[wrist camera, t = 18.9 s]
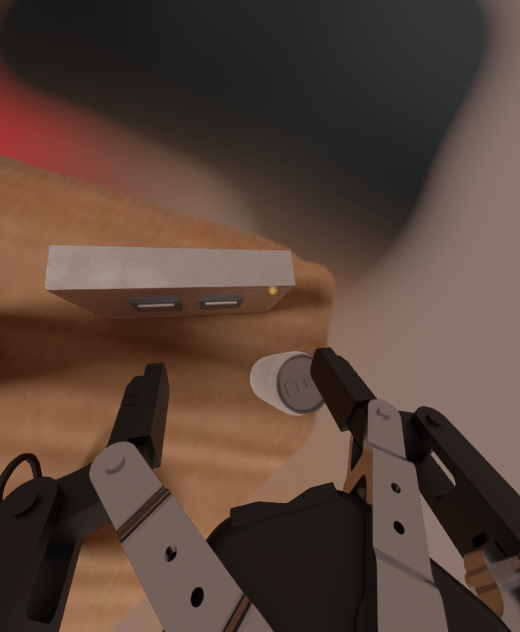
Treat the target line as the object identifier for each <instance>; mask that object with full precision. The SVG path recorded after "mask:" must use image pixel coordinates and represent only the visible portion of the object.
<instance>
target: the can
mask: <svg viewBox="0 0 520 632" xmlns="http://www.w3.org/2000/svg"><path fill="white" fill-rule="evenodd" d="M312 360H313V356H311V355H309V354H307V353H305V352H300V351H290V352H284V353H279V354H274V355H269V356H265V357H263V358H261V359H259V360H258V361H257V362H256V363H255V364H254V366H253V367H252V369H251V372H250V384H251V388H252V390H253V391H254V393H255V394H256V395H257V396H258V397H259V398H261V399H262V400H264V401H265V402H267V403H269V404H270V405H272V406H274V407H276V408H277V409H279V410H281V411H283V412H285V413H287V414H290V415H295V416H301V415H307V414H311V413H314V412H316V411H318V410H319V409H320V408H321V407H322V406H323V405H324V404H325V402H324V400H323V398H322V396H321V394H320V393H319V391H318V389H317V387H316V385H315V383H314V382H313V380H312V378H311V374H310V367H311V363H312Z"/></svg>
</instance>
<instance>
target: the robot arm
mask: <svg viewBox="0 0 520 632" xmlns="http://www.w3.org/2000/svg"><path fill="white" fill-rule="evenodd" d="M310 374H311V378H312V380H313V382H314V383H315V385H316V387H317V389H318V391H319V393H320V394H321V396H322V398H323V400H324V402H325V403H326V405H327V407H328V409H329V411H330V412H331V414H332V416H333V418H334V419H335V422H336V423H337V425H338V427H339V429H340V431H341V432H343V431H348V430H350V432H351V434H352V435H351V437H350V447H349V458H348V469H347V477H346V480H345V484H344V487H343V491H339V490H336V488H335V486H334V484H333V482H331V483H327V484H323V485H320V486H315V487H311V488H309V489H307V490H306V491H305V492H303V493H302V494H300V495H299V496H297V497H296V498H295V499H293V500H291V501H290V502H288V503H273V502H254V503H250V504H246V505H242V506H238V507H235V508H231V509H230V517H229V518H227V519H225V520H224V521H223V522H222V523H220V524H219V525H218V526H217V527H216V528H215V529H214V530H213V531H212V533H211V534H210V535H209V537H208V538H207V539H206V540H205V539H204V538H203V536H202V535H201V533H200V532H199V531H198V529H197V528H196V527H195V525H194V524H193V522H192V521H191V520H190V518H189V517H188V515H187V514H186V513H185V511H184V510H183V508H182V507H181V506H180V504H179V503H178V501H177V500H176V499H175V497H174V496H173V495H172V493H171V492H170V491H169V490H168V489H166V488H165V487H164V486H163V485H162V484H161V482H160V481H159V479H158V478H157V477H156V475H155V474H154V472H153V471H152V469H153V468H158V467H160V465H161V457H162V449H163V441H164V433H165V425H166V417H167V409H168V401H169V382H168V377H167V372H166V366H165V363H164V362H163V363H153V364H147V366H146V369H145V373H144V376H136V377H134V378H133V379H132V381H131V382H130V383H129V384H128V385H127V387H126V390H125V393H124V396H123V397H124V398H123V399H122V402H121V407H120V409H119V412H118V415H117V418H116V421H115V424H114V427H113V430H112V433H111V436H110V439H109V442H108V444H107V446H106V448H105V449H104V450H103V451H102V452H101V453H100V454H99V455H98V456H97V457H96V458H95V460H94V461H93V462H92V463H90V464H89V465H87V466H85V467H84V468H82V469H80V470H77V471H75V472H73V473H71V474H69V475H67V476H65V477H62V478H60V479H58V480H56V481H55V480H54V479H53V478H51V477H38V478H35V479H32V480H30V481H27V482H26V483H24V484H22V485H21V486H19V487H17V488H16V489H15V490H14V491H12V492H11V493H10V494H9V495H8V496H7V497H6V498H5V499H4V500H3V501H2V502H1V504H0V632H59V629H60V625H61V621H62V618H63V614H64V610H65V606H66V602H67V598H68V595H69V591H70V587H71V583H72V579H73V575H74V572H75V568H76V564H77V560H78V556H79V552H80V549H81V545H82V541H83V538H84V537H85V536H87V535H89V534H90V533H92V532H94V531H96V530H97V529H99V528H101V527H102V526H104V525H106V524H107V523H109V522H111V521H112V523H113V525H114V527H115V529H116V531H117V534H118V538H119V540H120V543H121V545H122V547H123V549H124V551H125V553H126V555H127V557H128V559H129V561H130V563H131V565H132V567H133V569H134V571H135V573H136V575H137V577H138V579H139V581H140V583H141V585H142V587H143V589H144V591H145V593H146V595H147V597H148V599H149V601H150V603H151V605H152V607H153V609H154V611H155V613H156V615H157V617H158V619H159V621H160V623H161V625H162V627H163V629H164V630H163V632H520V496H519V494H518V493H516V491H515V490H514V489H513V488H512V487H511V486H510V485H509V484H508V483H507V482H506V481H505V480H504V479H503V477H501V476H500V474H499V473H498V472H497V471H496V470H495V469H494V468H493V467H492V466H491V465H490V464H489V463H488V462H487V461H486V460H485V459H484V457H483V456H482V455H481V454H480V453H479V452H478V451H477V450H476V449H475V448H474V447H473V446H472V445H471V444H470V443H469V442H468V440H466V438H465V437H464V436H463V435H462V434H461V433H460V432H459V431H458V430H457V429H456V428H455V427H454V426H453V425H452V424H451V423H450V422H449V420H448V419H447V418H446V417H445V416H444V415H442V414H441V413H440V412H438V411H436V410H435V409H432V408H429V407H425V406H422V407H419V408H418V409H417V410H416V411H415V413H411V412H403V411H398V410H396V409H395V408H394V407H393V406H392V405H391V404H389V403H387V402H386V401H383V400H379V399H377V398H376V397H375V396H374V394H373V393H372V392H371V390H370V389H369V388H368V387H367V385H366V384H365V383H364V382H363V380H362V379H361V378H360V377H359V376H358V374H357V373H356V371H355V370H353V368H352V366H351V365H350V364H349V363H348V361H346V360H345V359H344V358H342V357H341V356H337V355H336V354H335V353H334V351H333V350H332V349H331V348H330V347H328V348H317V349H316V350H315V353H314V356H313V360H312V363H311V367H310ZM433 451H434V452H435V453H436V455H437V456H438V457H439V459H440V460H441V461H442V462H443V464H444V465H445V466H446V467H447V469H448V470H449V471H450V472H451V474H452V475H453V477H454V479H455V483H456V485H455V486H454V484H453V483H452V482H451V481H450V479H449V478H448V477H447V476H446V474H445V473H444V471H443V470H442V469H441V467H440V466H439V465H438V464H437V462H436V461H435V460H434V458H433V457H432V456H431V453H432V452H433ZM419 491H420V493H421V494H422V495H423V497H424V499H425V500H426V502H427V503H428V505H429V506H430V508H431V510H432V511H433V513H434V514H435V516H436V517H437V519H438V520H439V522H440V524H441V525H442V527H443V528H444V530H445V531H446V533H447V534H448V536H449V537H450V539H451V540H452V542H453V544H454V545H455V547H456V548H457V550H458V551H459V553H460V554H461V556H462V558H463V559H464V565H465V570H466V574H465V581H466V584H467V586H468V587H469V589H470V590H471V591H472V592H471V591H469V590H468V589H467V588H466V587H465V586H464V585H462V584H461V583H460V582H459V581H458V580H456V579H455V578H454V577H453V576H452V575H450V574H449V573H448V572H447V571H445V570H444V569H443V568H442V567H441V566H440V565H438V564H437V563H436V562H435V561H434V560H432V559H431V558H430V557H429V552H428V546H427V539H426V533H425V526H424V520H423V514H422V507H421V500H420V494H419ZM474 594H475V595H476V596H475V595H474Z"/></svg>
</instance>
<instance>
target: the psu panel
mask: <svg viewBox="0 0 520 632" xmlns="http://www.w3.org/2000/svg"><path fill="white" fill-rule="evenodd" d="M294 286H295V278H294V271H293V264H292V257H291V251H280V250H235V249H190V248H145V247H100V246H55V245H49V254H48V264H47V274H46V284H45V290H46V291H48V292H50V293H52V294H55V295H57V296H59V297H61V298H63V299H65V300H67V301H69V302H71V303H73V304H75V305H78V306H80V307H82V308H84V309H86V310H88V311H90V312H92V313H94V314H96V315H99V316H101V317H103V318H105V319H107V320H115V319H135V318H156V317H177V316H198V315H219V314H239V313H260V312H267V311H268V310H270V309H271V308H272V307H273V306H274V305H275V304H276V303H277V302H278V301H279V300H280V299H281V298H282V297H284V296H285V295H286V294H287V293H288V292H289V291H290V290H291V289H292V288H293V287H294Z"/></svg>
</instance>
